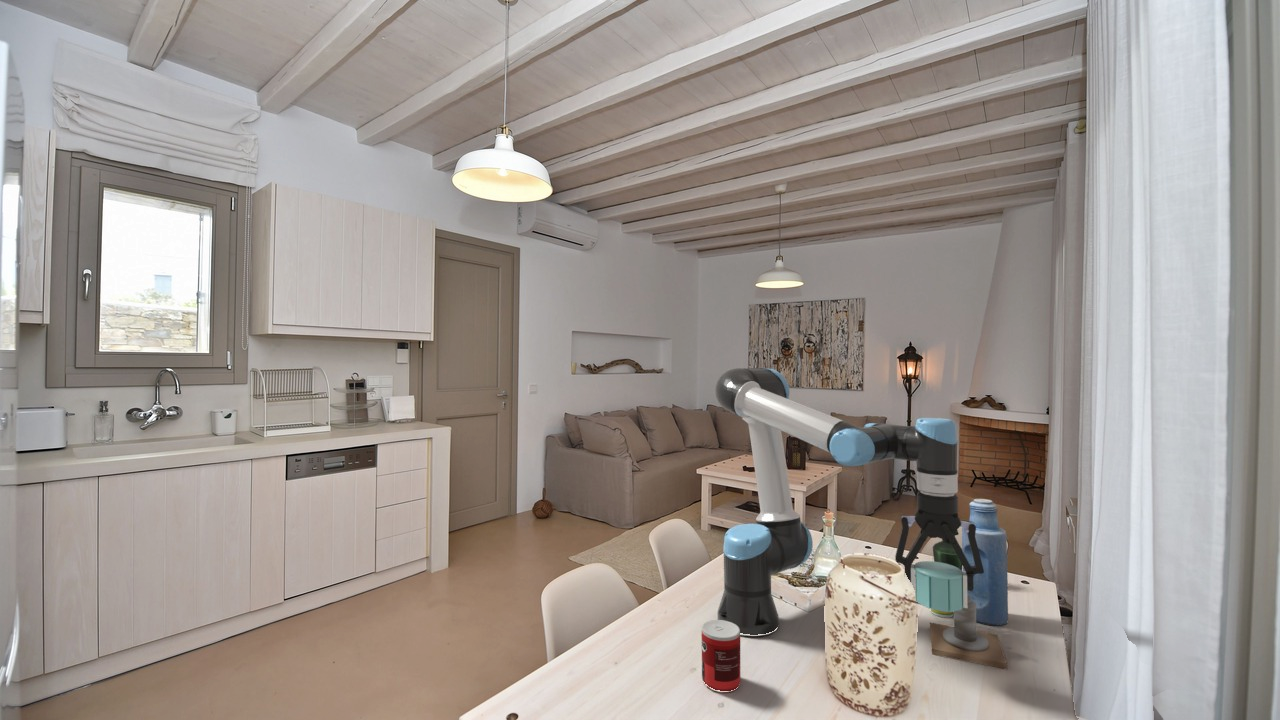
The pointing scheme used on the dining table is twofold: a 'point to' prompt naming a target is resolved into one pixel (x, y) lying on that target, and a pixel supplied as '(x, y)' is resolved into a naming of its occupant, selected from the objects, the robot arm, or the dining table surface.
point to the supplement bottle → (941, 613)
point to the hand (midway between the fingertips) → (938, 601)
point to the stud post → (967, 640)
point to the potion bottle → (946, 553)
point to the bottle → (988, 564)
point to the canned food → (721, 655)
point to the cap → (938, 586)
